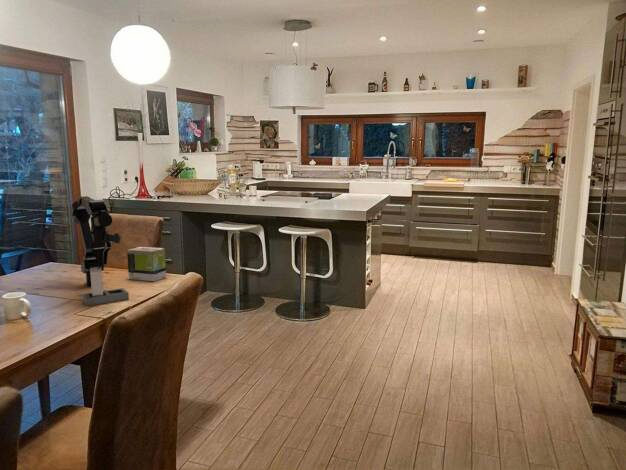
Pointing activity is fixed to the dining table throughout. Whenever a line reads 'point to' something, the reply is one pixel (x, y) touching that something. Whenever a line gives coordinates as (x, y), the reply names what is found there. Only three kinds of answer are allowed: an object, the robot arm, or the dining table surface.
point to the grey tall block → (96, 281)
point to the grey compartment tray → (106, 297)
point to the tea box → (146, 263)
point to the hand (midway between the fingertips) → (103, 264)
